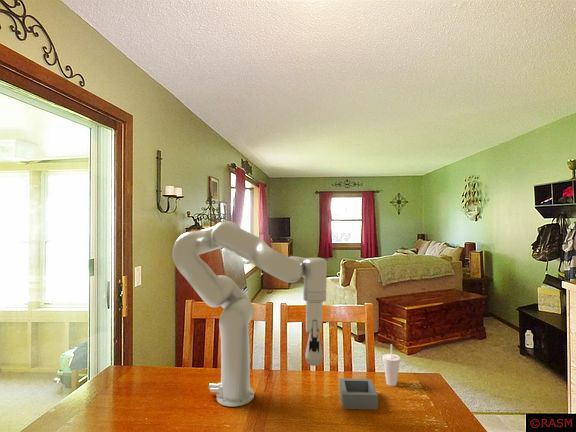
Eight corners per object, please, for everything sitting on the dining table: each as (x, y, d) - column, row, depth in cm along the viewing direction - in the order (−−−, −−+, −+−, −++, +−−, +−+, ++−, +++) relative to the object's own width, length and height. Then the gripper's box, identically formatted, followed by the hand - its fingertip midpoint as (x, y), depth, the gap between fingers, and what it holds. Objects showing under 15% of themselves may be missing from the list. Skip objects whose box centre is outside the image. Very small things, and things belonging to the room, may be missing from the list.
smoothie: (401, 381, 128) (401, 343, 128) (399, 389, 122) (399, 349, 122) (383, 378, 130) (383, 341, 131) (381, 385, 125) (380, 346, 125)
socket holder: (342, 408, 110) (342, 394, 110) (339, 391, 121) (339, 378, 121) (378, 409, 109) (377, 395, 109) (371, 392, 120) (371, 379, 120)
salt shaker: (321, 367, 111) (322, 327, 111) (303, 365, 112) (304, 325, 112) (323, 360, 117) (324, 322, 117) (306, 358, 118) (307, 320, 118)
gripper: (303, 289, 123) (302, 341, 123) (303, 301, 107) (302, 360, 107) (324, 290, 123) (323, 342, 123) (327, 301, 106) (326, 361, 106)
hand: (313, 350), depth 115 cm, fingers closed on salt shaker, 3 cm apart
